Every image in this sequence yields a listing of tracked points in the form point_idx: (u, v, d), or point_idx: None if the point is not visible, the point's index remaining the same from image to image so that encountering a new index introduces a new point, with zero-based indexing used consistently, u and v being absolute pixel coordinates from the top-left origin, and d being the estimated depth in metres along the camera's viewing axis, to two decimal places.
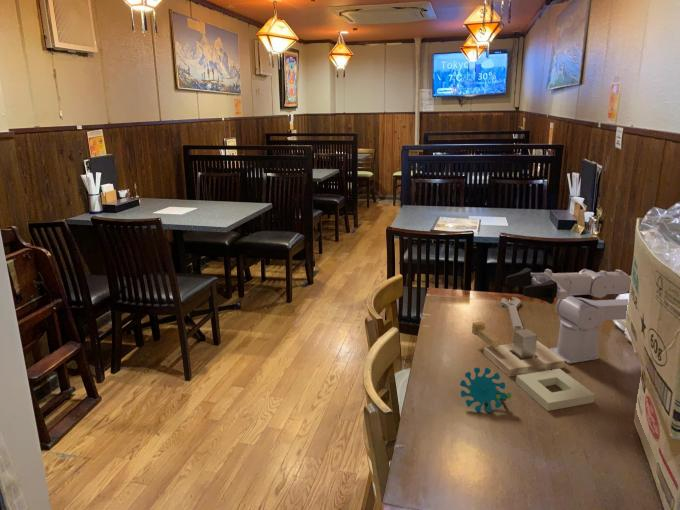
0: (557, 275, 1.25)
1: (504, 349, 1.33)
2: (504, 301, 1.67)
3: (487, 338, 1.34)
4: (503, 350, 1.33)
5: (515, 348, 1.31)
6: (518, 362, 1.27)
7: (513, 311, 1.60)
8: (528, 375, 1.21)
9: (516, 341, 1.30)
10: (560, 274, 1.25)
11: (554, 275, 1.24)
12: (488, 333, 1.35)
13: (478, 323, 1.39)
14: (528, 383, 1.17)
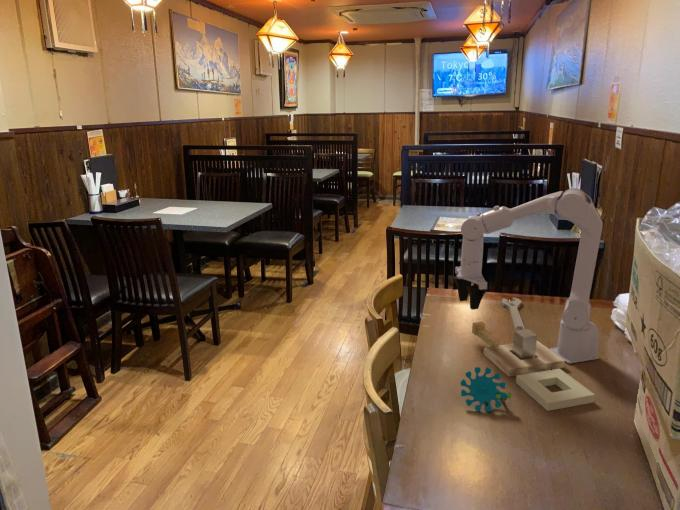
0: (463, 269, 1.39)
1: (504, 349, 1.33)
2: (505, 302, 1.67)
3: (487, 338, 1.34)
4: (503, 350, 1.33)
5: (515, 348, 1.31)
6: (518, 362, 1.27)
7: (514, 312, 1.60)
8: (528, 375, 1.21)
9: (516, 341, 1.30)
10: (463, 265, 1.39)
11: (463, 272, 1.40)
12: (488, 333, 1.35)
13: (478, 323, 1.39)
14: (528, 383, 1.17)
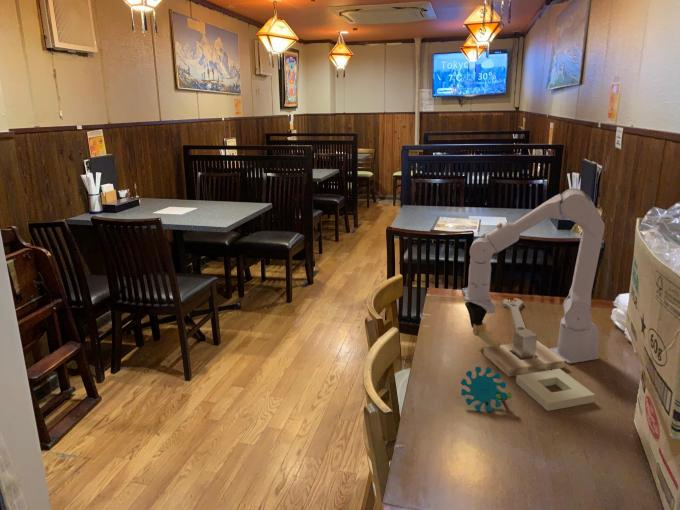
0: (471, 292, 1.36)
1: (504, 349, 1.33)
2: (506, 302, 1.67)
3: (487, 338, 1.33)
4: (503, 350, 1.33)
5: (515, 348, 1.31)
6: (518, 362, 1.27)
7: (515, 312, 1.59)
8: (528, 375, 1.21)
9: (516, 341, 1.30)
10: (470, 288, 1.37)
11: (470, 295, 1.37)
12: (489, 334, 1.35)
13: (478, 323, 1.39)
14: (528, 383, 1.17)
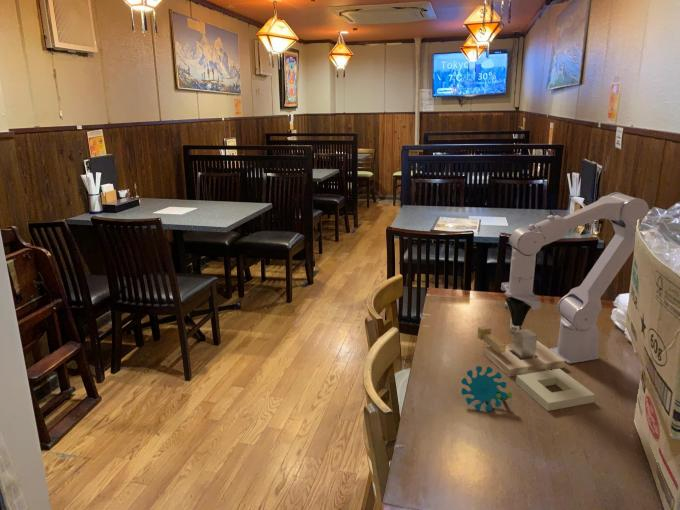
0: (513, 287, 1.26)
1: None
2: None
3: (493, 343, 1.31)
4: None
5: (515, 348, 1.31)
6: (518, 362, 1.27)
7: None
8: (528, 375, 1.21)
9: (516, 341, 1.30)
10: (512, 282, 1.26)
11: (512, 290, 1.26)
12: (494, 338, 1.32)
13: (483, 327, 1.36)
14: (528, 383, 1.17)
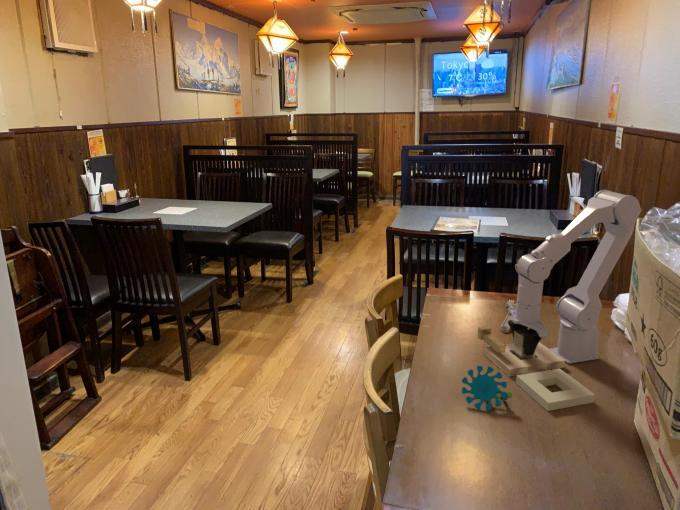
0: (520, 314, 1.26)
1: None
2: (510, 303, 1.66)
3: (493, 343, 1.31)
4: None
5: (515, 348, 1.31)
6: (518, 362, 1.27)
7: None
8: (528, 375, 1.21)
9: (516, 341, 1.30)
10: (519, 308, 1.26)
11: (519, 317, 1.26)
12: (494, 338, 1.32)
13: (483, 327, 1.36)
14: (528, 383, 1.17)
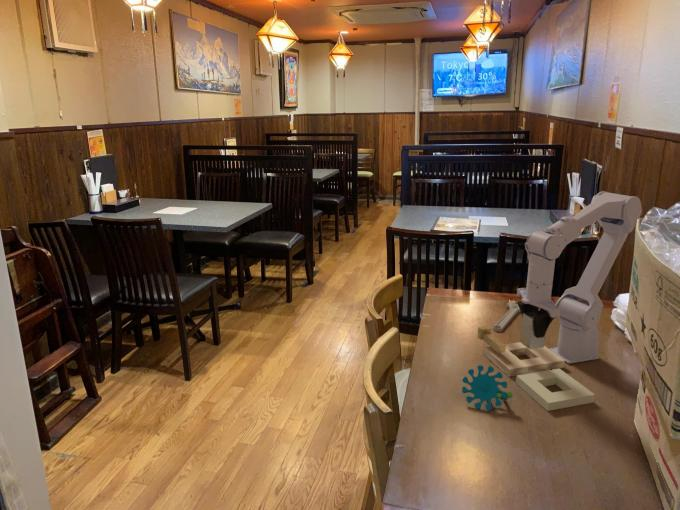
0: (530, 293, 1.20)
1: None
2: (511, 303, 1.66)
3: (493, 343, 1.31)
4: None
5: (524, 331, 1.25)
6: (518, 362, 1.27)
7: (510, 313, 1.59)
8: (528, 375, 1.21)
9: (525, 324, 1.24)
10: (529, 288, 1.20)
11: (530, 296, 1.21)
12: (494, 338, 1.32)
13: (483, 327, 1.36)
14: (528, 383, 1.17)
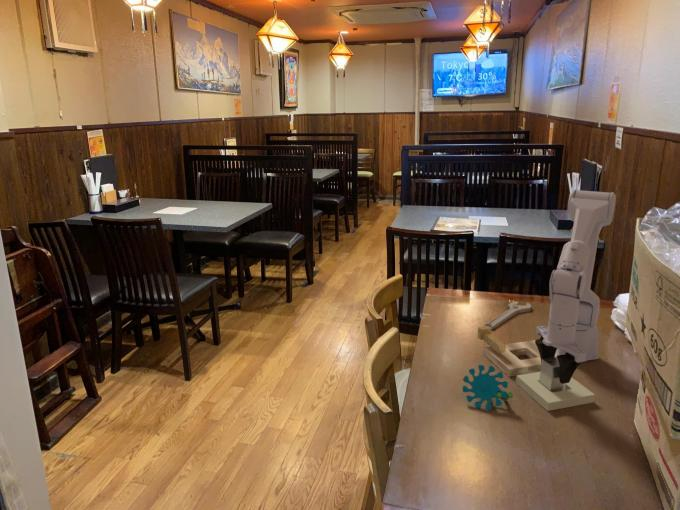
0: (552, 335, 1.11)
1: None
2: (512, 304, 1.65)
3: (493, 343, 1.31)
4: None
5: (543, 379, 1.16)
6: (518, 362, 1.27)
7: (507, 313, 1.59)
8: (528, 375, 1.21)
9: (545, 371, 1.15)
10: (551, 329, 1.11)
11: (552, 338, 1.12)
12: (494, 338, 1.32)
13: (483, 327, 1.36)
14: (528, 383, 1.17)
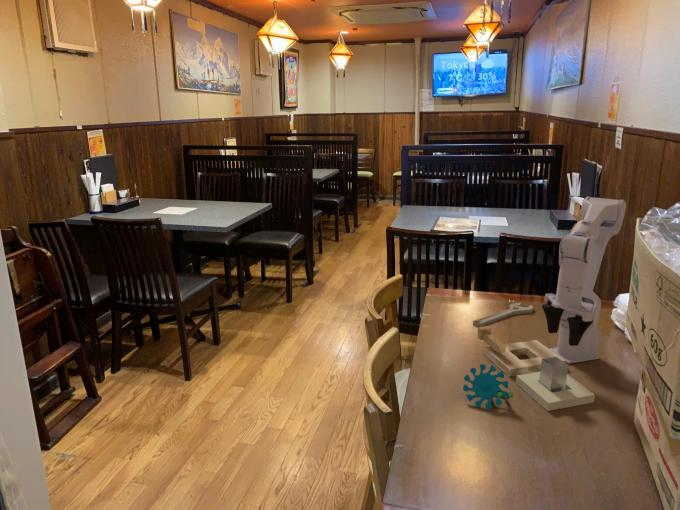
0: (561, 297, 1.19)
1: None
2: (514, 305, 1.64)
3: (493, 343, 1.31)
4: None
5: (543, 379, 1.16)
6: (518, 362, 1.27)
7: (503, 313, 1.59)
8: (528, 375, 1.21)
9: (545, 371, 1.15)
10: (560, 292, 1.19)
11: (561, 300, 1.19)
12: (494, 338, 1.32)
13: (483, 327, 1.36)
14: (528, 383, 1.17)
